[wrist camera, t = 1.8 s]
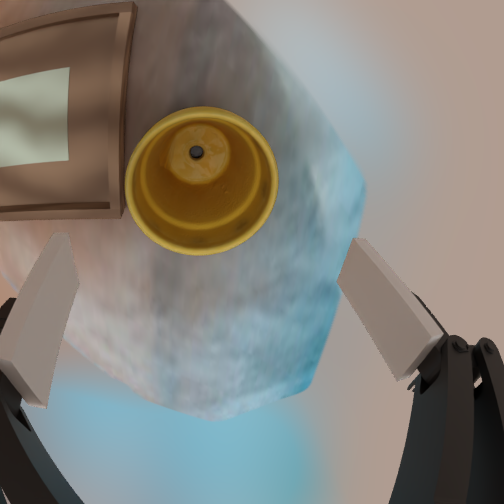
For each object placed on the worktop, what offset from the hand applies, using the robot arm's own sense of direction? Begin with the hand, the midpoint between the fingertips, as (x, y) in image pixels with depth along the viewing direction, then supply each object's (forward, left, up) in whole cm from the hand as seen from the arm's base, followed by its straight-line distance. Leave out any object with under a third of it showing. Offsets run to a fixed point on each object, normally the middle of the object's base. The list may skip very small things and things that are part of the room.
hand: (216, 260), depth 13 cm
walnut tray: (-4, -17, -17) cm, 24 cm away
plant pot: (0, 0, -17) cm, 17 cm away
